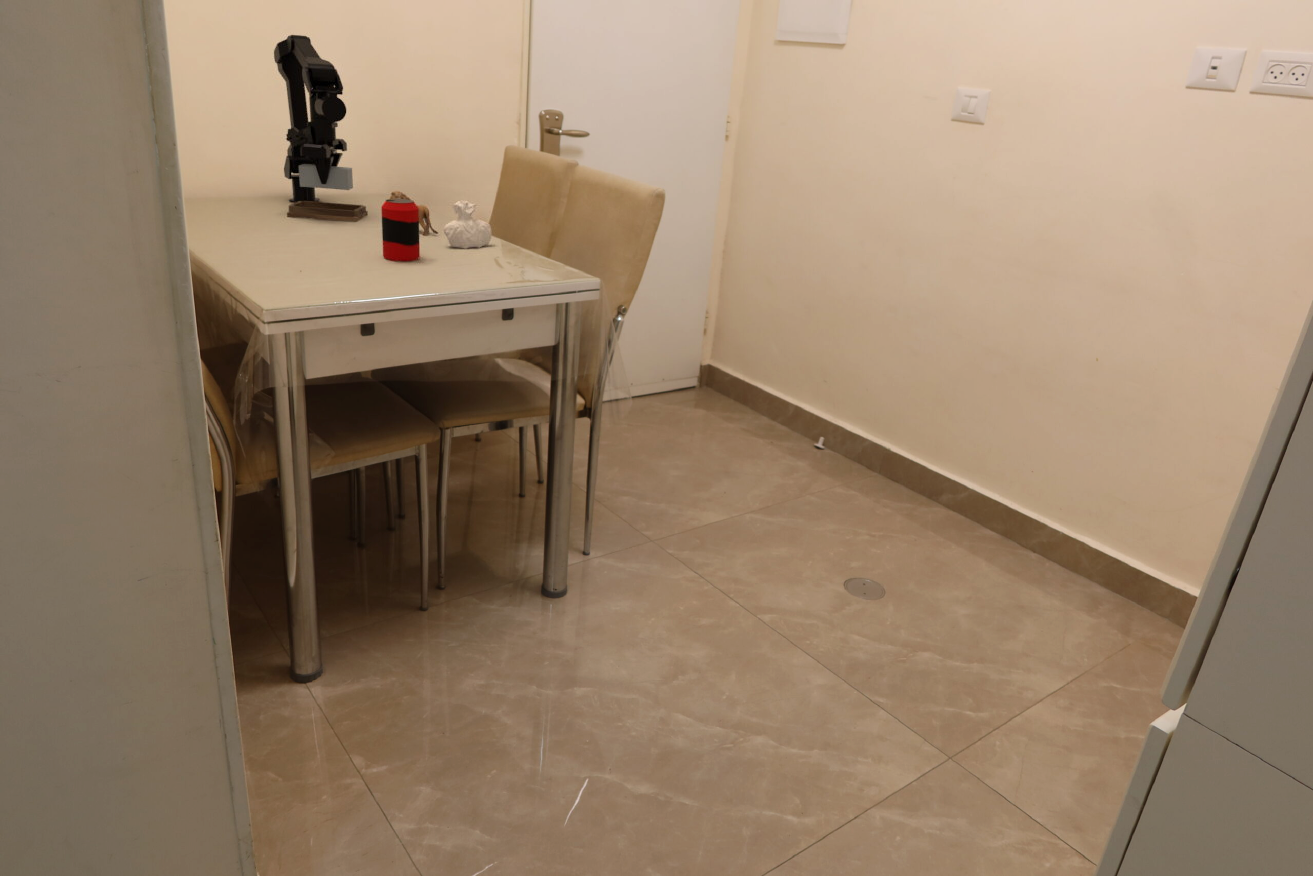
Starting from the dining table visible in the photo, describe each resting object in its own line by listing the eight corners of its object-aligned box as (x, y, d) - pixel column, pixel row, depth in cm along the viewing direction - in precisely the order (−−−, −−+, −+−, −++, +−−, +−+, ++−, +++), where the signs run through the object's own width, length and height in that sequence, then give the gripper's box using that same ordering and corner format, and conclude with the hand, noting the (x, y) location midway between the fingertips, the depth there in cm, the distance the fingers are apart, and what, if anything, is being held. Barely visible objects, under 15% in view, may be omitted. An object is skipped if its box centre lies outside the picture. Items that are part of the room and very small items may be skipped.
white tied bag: (488, 253, 216) (474, 210, 217) (502, 238, 210) (487, 194, 212) (443, 256, 209) (428, 212, 210) (455, 241, 203) (440, 196, 204)
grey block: (305, 184, 231) (303, 163, 229) (352, 187, 232) (352, 167, 230) (299, 186, 227) (298, 165, 225) (348, 190, 228) (347, 169, 226)
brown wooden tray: (301, 209, 237) (300, 200, 236) (367, 214, 238) (367, 205, 237) (287, 216, 226) (286, 206, 225) (356, 221, 228) (355, 211, 227)
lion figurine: (384, 228, 223) (382, 190, 220) (399, 225, 228) (398, 189, 224) (431, 237, 217) (430, 199, 214) (445, 234, 222) (445, 197, 218)
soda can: (381, 254, 196) (379, 197, 191) (416, 254, 199) (415, 198, 194) (385, 261, 190) (383, 203, 185) (422, 261, 192) (421, 204, 188)
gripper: (301, 112, 231) (305, 175, 237) (275, 117, 214) (281, 185, 220) (346, 116, 232) (348, 179, 238) (324, 121, 215) (327, 188, 221)
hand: (326, 182), depth 229 cm, fingers closed on grey block, 4 cm apart
